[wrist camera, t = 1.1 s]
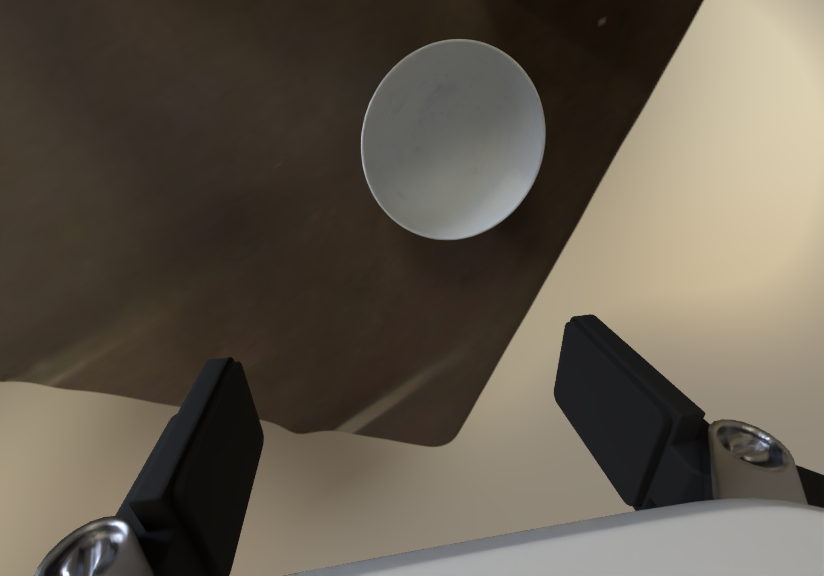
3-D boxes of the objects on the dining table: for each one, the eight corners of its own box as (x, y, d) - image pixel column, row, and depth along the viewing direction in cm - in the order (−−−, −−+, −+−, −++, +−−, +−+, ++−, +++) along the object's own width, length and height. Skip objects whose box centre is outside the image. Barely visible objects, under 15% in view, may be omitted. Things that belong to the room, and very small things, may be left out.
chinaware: (532, 78, 35) (575, 72, 28) (482, 228, 41) (508, 253, 34) (376, 29, 32) (382, 9, 25) (347, 200, 38) (346, 222, 31)
